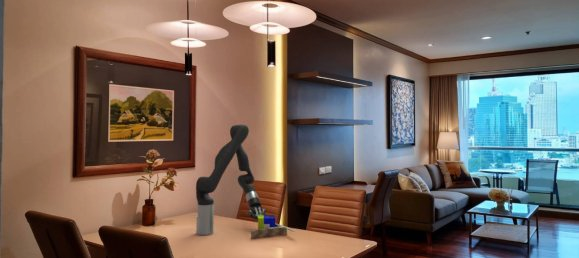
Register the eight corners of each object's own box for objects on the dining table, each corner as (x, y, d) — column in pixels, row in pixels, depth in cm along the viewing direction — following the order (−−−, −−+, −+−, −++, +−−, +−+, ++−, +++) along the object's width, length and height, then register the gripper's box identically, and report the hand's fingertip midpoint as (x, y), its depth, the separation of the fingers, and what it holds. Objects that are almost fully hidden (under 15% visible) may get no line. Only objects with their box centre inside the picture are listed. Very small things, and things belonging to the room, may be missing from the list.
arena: (261, 244, 220) (261, 234, 220) (240, 232, 245) (240, 224, 245) (296, 239, 230) (296, 230, 230) (273, 228, 255) (273, 221, 255)
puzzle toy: (275, 235, 239) (275, 218, 239) (257, 235, 238) (258, 218, 238) (274, 231, 249) (274, 214, 249) (257, 231, 248) (257, 215, 248)
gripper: (245, 197, 253) (253, 221, 242) (264, 195, 259) (273, 219, 249) (241, 204, 258) (249, 228, 247) (260, 202, 264) (269, 226, 253)
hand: (261, 223), depth 248 cm, fingers closed
